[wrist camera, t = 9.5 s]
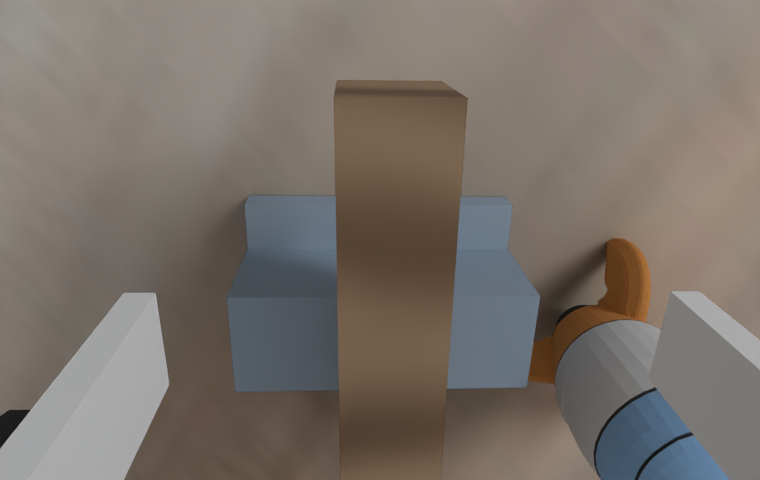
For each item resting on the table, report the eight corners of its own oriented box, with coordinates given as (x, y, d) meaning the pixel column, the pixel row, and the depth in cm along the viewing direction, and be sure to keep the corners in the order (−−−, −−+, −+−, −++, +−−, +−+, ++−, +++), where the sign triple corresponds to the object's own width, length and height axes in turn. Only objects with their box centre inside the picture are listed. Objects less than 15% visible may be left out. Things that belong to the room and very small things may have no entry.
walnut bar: (337, 80, 21) (333, 97, 16) (441, 81, 21) (467, 98, 16) (343, 538, 30) (343, 633, 25) (416, 535, 30) (429, 629, 25)
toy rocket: (465, 354, 36) (520, 503, 21) (534, 202, 34) (648, 246, 19) (609, 411, 36) (763, 596, 21) (685, 264, 34) (909, 354, 20)
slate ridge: (249, 195, 30) (221, 244, 23) (505, 196, 30) (547, 245, 24) (259, 353, 33) (238, 434, 27) (487, 350, 34) (520, 428, 28)
